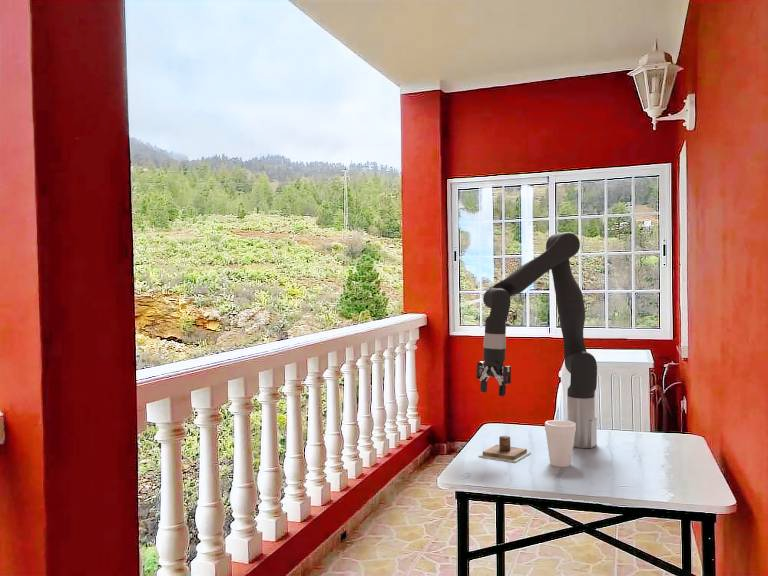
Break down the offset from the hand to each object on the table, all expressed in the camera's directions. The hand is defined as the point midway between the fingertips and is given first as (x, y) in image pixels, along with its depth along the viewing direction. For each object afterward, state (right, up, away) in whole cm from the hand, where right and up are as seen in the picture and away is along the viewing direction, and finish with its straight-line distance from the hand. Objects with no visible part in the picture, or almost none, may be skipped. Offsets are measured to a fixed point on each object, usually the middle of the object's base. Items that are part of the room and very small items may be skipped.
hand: (492, 394), depth 225 cm
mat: (+3, -20, -5) cm, 20 cm away
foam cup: (+19, -20, -16) cm, 32 cm away
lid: (+3, -19, -5) cm, 20 cm away
